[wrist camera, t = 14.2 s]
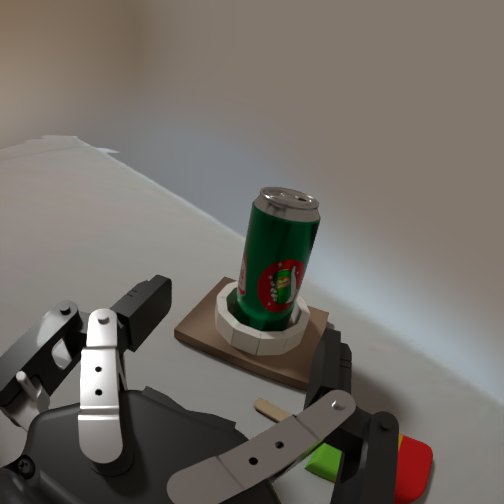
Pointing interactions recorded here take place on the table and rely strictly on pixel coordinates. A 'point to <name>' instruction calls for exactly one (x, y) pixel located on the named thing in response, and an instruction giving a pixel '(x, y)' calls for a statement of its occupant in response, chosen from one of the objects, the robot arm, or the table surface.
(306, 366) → the socket plate
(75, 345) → the robot arm
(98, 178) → the table surface
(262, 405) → the popsicle
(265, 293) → the soda can
